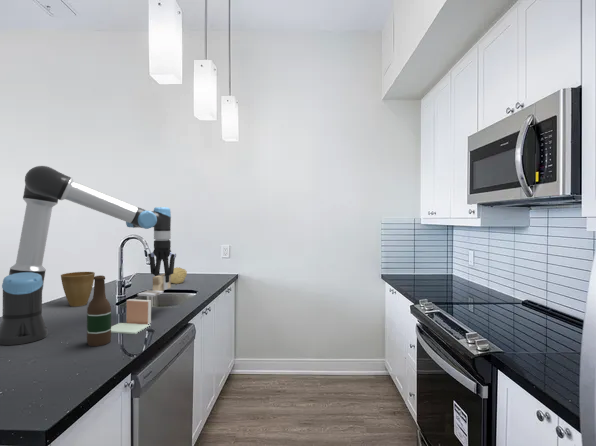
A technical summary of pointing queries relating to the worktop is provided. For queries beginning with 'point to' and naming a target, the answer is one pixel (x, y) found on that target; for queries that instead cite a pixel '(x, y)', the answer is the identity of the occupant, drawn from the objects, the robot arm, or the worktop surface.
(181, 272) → the beige lumpy ball
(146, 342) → the worktop surface
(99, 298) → the beer bottle
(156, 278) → the turner
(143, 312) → the tile
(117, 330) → the mat
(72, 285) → the plant pot
